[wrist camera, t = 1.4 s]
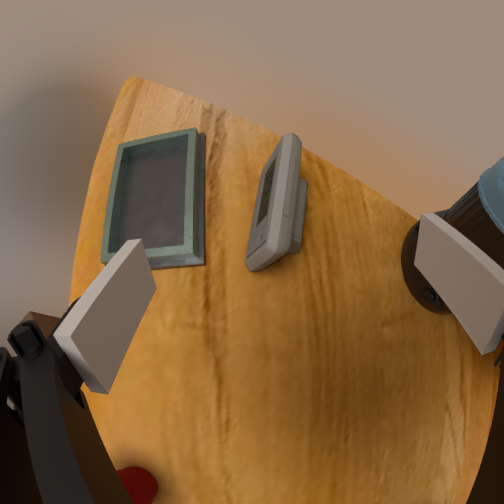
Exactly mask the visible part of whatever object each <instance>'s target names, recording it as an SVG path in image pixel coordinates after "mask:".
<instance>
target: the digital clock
mask: <svg viewBox="0 0 504 504" xmlns="http://www.w3.org/2000/svg"><path fill="white" fill-rule="evenodd" d="M301 149H302V143H301V141H300V139H299V138H298V136H297V135H296V134H294V133H290V134H287V135H284V136H283V137H282V138H281V140H280V141H279V143H278V145H277V146H276V148H275V150H274V151H273V153H272V155H271V156H270V158H269V160H268V161H267V163H266V165H265V166H264V168H263V170H262V172H261V176H260V182H259V187H258V192H257V198H256V203H255V208H254V214H253V219H252V225H251V230H250V236H249V241H248V247H247V252H246V258H245V265H246V266H247V268H248V269H249V270H250V271H253V272H255V271H259V270H261V269H263V268H265V267H266V266H268V265H269V264H271V263H273V262H274V261H276V260H277V259H279V258H280V257H282V256H283V255H285V254H286V253H287V252H289V253H300V248H301V243H302V233H303V225H304V216H305V206H306V196H307V186H308V184H307V182H306V181H305V180H303V179H301V178H300V177H299V169H300V159H301Z"/></svg>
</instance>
